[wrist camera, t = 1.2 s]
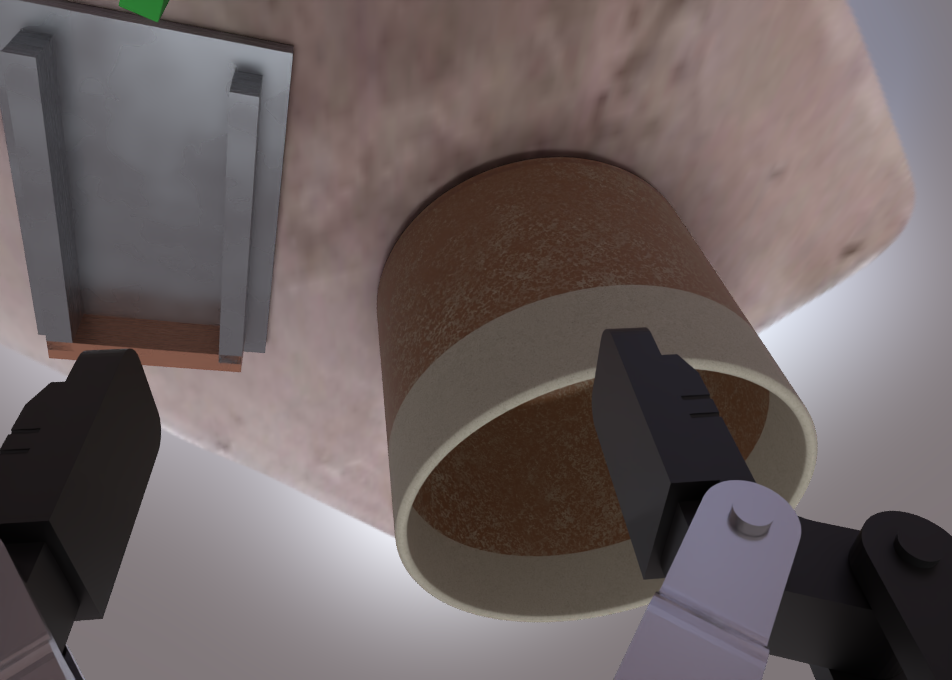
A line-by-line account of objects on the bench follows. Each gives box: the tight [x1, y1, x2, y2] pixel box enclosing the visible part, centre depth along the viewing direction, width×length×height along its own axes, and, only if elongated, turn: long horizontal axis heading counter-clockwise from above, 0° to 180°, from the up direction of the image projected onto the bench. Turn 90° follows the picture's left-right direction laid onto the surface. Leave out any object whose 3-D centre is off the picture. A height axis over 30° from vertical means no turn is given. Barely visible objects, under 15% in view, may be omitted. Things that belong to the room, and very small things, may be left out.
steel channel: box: [0, 0, 294, 372], centre depth 29 cm, size 10×15×3 cm, turn 165°
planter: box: [377, 157, 817, 622], centre depth 32 cm, size 16×16×14 cm
